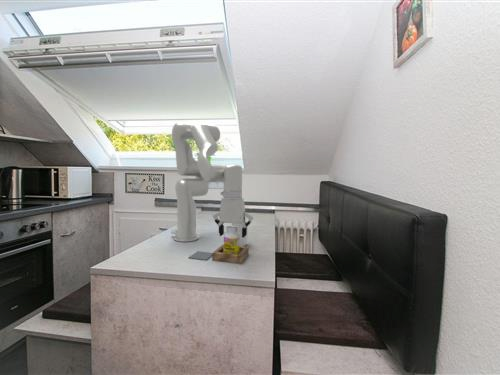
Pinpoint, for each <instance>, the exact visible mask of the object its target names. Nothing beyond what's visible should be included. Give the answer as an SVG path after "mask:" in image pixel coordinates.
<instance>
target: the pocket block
mask: <svg viewBox="0 0 500 375" xmlns="http://www.w3.org/2000/svg"><path fill="white" fill-rule="evenodd" d="M223 246H224V243H223V244H222V245H221V246H219V247H218V248H216V249H215V250H214V251H213V252H211V253H212V256H211V261H214V262H223V263H230V264H239V265H240V264H242V263H243V261H245V260H246V258H247V257H248V256H249V254H250V253H249V250H250V247H249V246H239V255H237V254H228V253H223Z"/></svg>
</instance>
